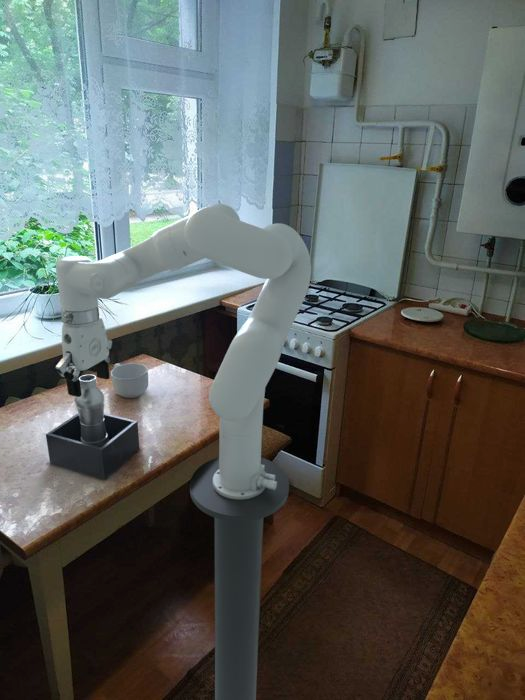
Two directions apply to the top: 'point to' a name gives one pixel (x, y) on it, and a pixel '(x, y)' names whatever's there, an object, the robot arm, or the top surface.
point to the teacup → (130, 379)
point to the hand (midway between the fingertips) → (89, 386)
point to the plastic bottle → (91, 412)
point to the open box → (92, 458)
